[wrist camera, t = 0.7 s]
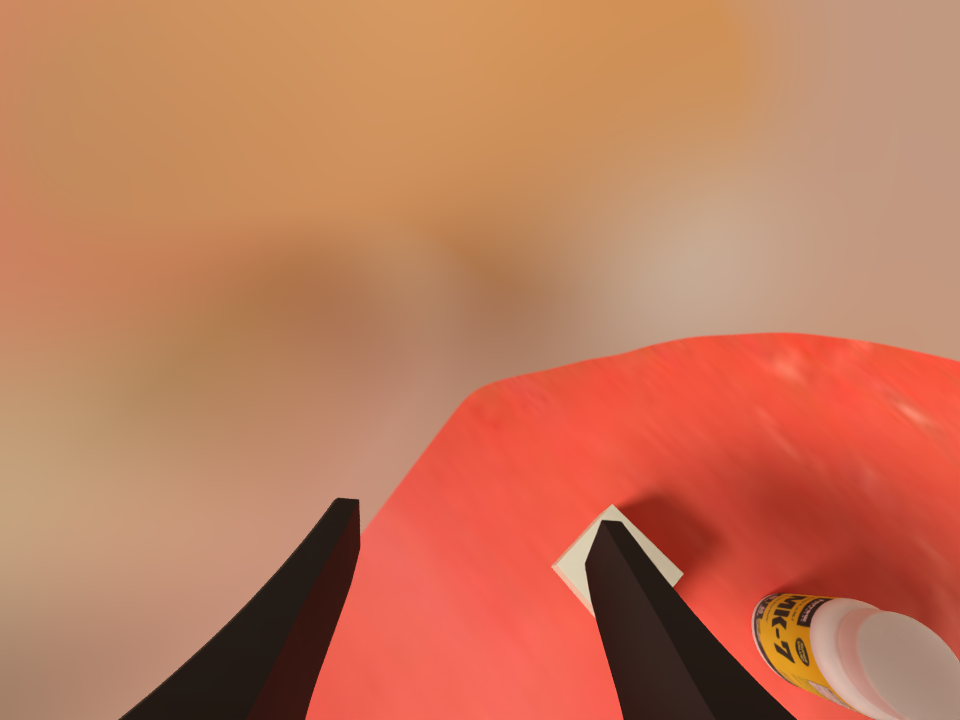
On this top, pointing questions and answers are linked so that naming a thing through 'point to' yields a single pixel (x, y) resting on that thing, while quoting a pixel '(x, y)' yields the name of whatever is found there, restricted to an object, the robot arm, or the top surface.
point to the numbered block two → (575, 556)
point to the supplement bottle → (858, 656)
